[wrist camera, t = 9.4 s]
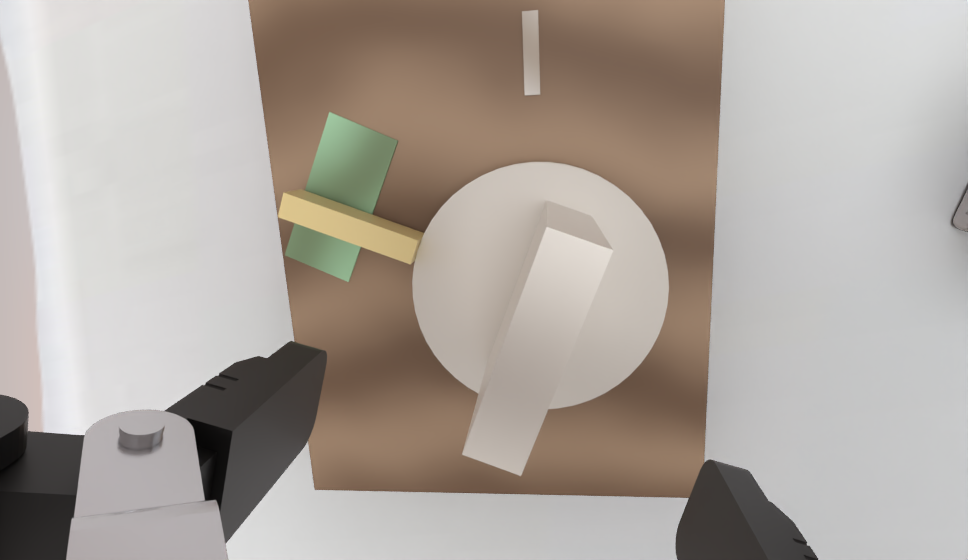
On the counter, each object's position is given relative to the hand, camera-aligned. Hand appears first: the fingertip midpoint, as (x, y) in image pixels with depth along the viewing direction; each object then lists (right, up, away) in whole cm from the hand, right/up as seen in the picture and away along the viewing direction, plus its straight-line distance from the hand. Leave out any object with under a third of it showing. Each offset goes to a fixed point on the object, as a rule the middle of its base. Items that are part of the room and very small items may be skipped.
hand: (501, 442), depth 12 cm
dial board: (0, +6, +14) cm, 15 cm away
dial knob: (-1, +4, +11) cm, 12 cm away
